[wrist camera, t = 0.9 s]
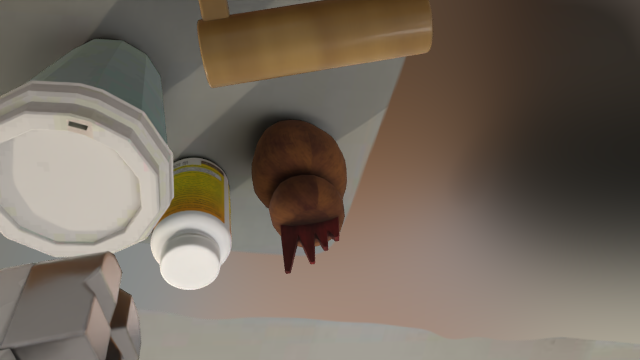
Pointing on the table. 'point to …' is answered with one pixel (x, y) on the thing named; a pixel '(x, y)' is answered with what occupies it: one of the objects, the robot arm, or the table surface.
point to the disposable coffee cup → (85, 153)
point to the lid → (308, 37)
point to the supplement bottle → (194, 225)
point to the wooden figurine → (300, 185)
